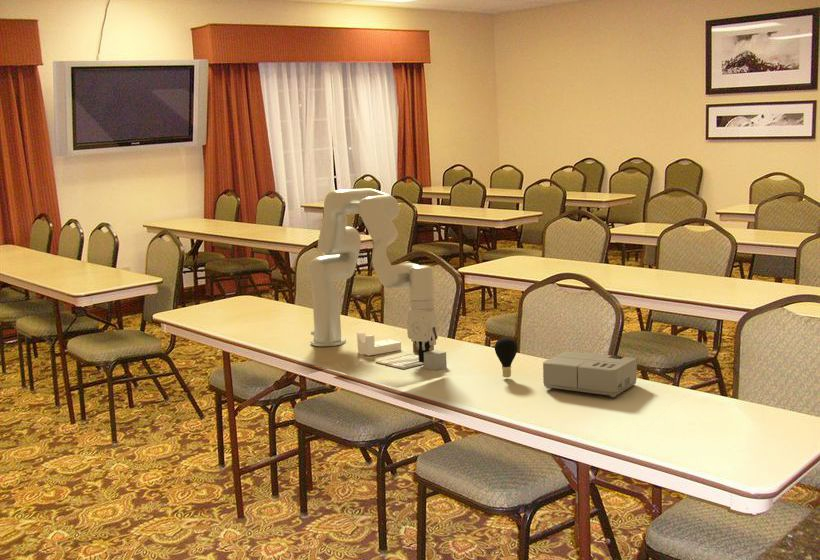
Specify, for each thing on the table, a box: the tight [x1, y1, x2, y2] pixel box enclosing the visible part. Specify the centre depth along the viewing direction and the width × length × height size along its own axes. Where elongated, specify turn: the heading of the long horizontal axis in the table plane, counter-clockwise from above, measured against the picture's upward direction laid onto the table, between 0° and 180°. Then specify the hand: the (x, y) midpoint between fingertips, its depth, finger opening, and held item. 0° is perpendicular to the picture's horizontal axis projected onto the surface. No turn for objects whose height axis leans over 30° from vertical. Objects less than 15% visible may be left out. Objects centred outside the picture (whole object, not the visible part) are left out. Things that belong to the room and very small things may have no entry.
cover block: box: [423, 349, 448, 371], centre depth 272 cm, size 5×5×5 cm
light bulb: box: [494, 336, 518, 378], centre depth 256 cm, size 7×7×12 cm
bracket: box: [356, 331, 402, 356], centre depth 296 cm, size 13×7×8 cm, turn 123°
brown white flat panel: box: [375, 353, 424, 371], centre depth 282 cm, size 14×16×1 cm
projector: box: [542, 350, 638, 398], centre depth 244 cm, size 17×22×8 cm
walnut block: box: [412, 342, 435, 354], centre depth 294 cm, size 5×5×6 cm
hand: (424, 361), depth 276 cm, fingers closed
